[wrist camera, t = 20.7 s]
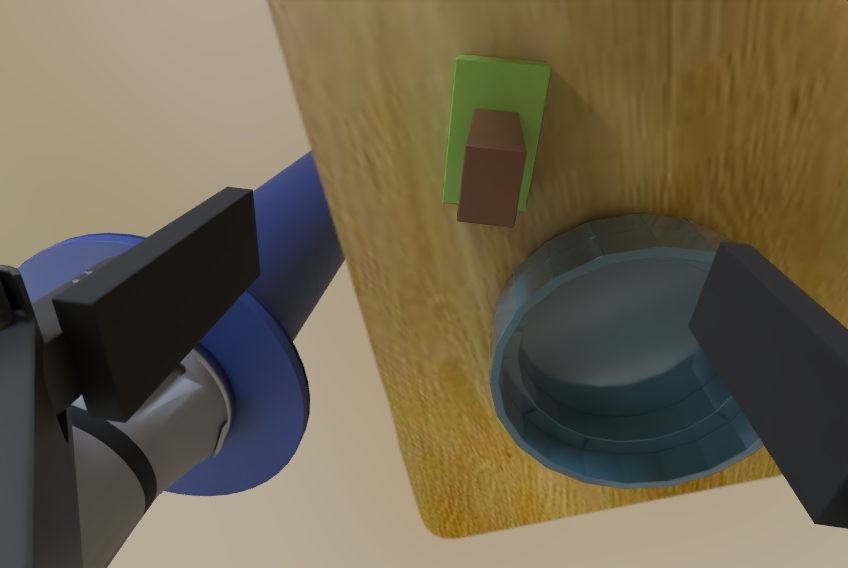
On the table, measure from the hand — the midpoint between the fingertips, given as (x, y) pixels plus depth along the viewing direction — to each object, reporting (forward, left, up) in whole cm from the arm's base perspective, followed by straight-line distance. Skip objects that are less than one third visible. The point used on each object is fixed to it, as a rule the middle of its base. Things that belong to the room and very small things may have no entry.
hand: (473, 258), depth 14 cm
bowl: (+11, -13, -19) cm, 25 cm away
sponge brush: (0, 0, -19) cm, 19 cm away
